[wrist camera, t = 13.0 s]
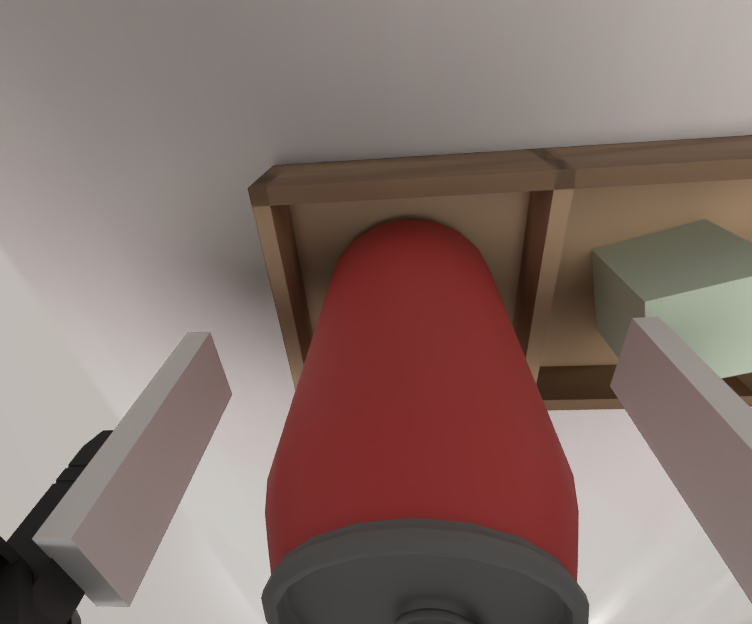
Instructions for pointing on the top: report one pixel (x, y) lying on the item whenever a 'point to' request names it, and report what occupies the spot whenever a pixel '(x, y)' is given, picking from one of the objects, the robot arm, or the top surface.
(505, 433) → the beer can
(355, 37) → the top surface
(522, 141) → the top surface
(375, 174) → the tray
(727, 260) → the sage block
